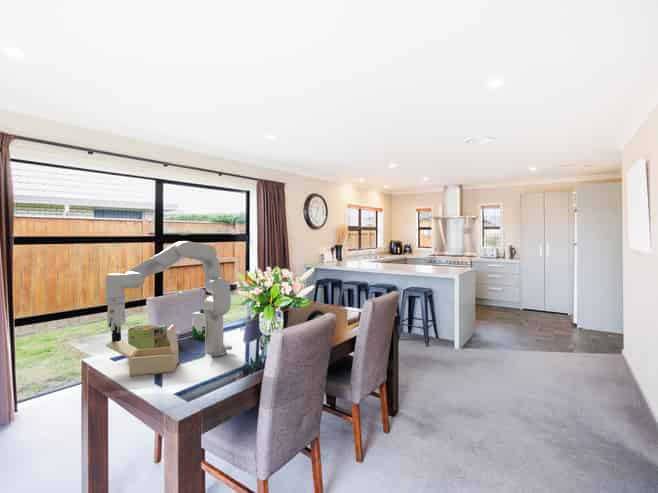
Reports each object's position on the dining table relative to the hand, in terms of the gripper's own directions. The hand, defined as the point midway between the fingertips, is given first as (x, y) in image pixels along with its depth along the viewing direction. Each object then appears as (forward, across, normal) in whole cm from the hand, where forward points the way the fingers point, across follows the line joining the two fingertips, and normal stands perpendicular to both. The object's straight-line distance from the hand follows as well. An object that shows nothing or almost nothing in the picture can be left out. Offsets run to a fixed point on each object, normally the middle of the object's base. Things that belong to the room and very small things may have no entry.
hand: (116, 341), depth 158 cm
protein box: (+15, +22, -8) cm, 28 cm away
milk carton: (+18, +56, -30) cm, 66 cm away
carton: (+15, 0, -16) cm, 22 cm away
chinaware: (+15, +40, -13) cm, 44 cm away
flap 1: (+6, 0, -7) cm, 10 cm away
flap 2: (+7, 0, -25) cm, 25 cm away
